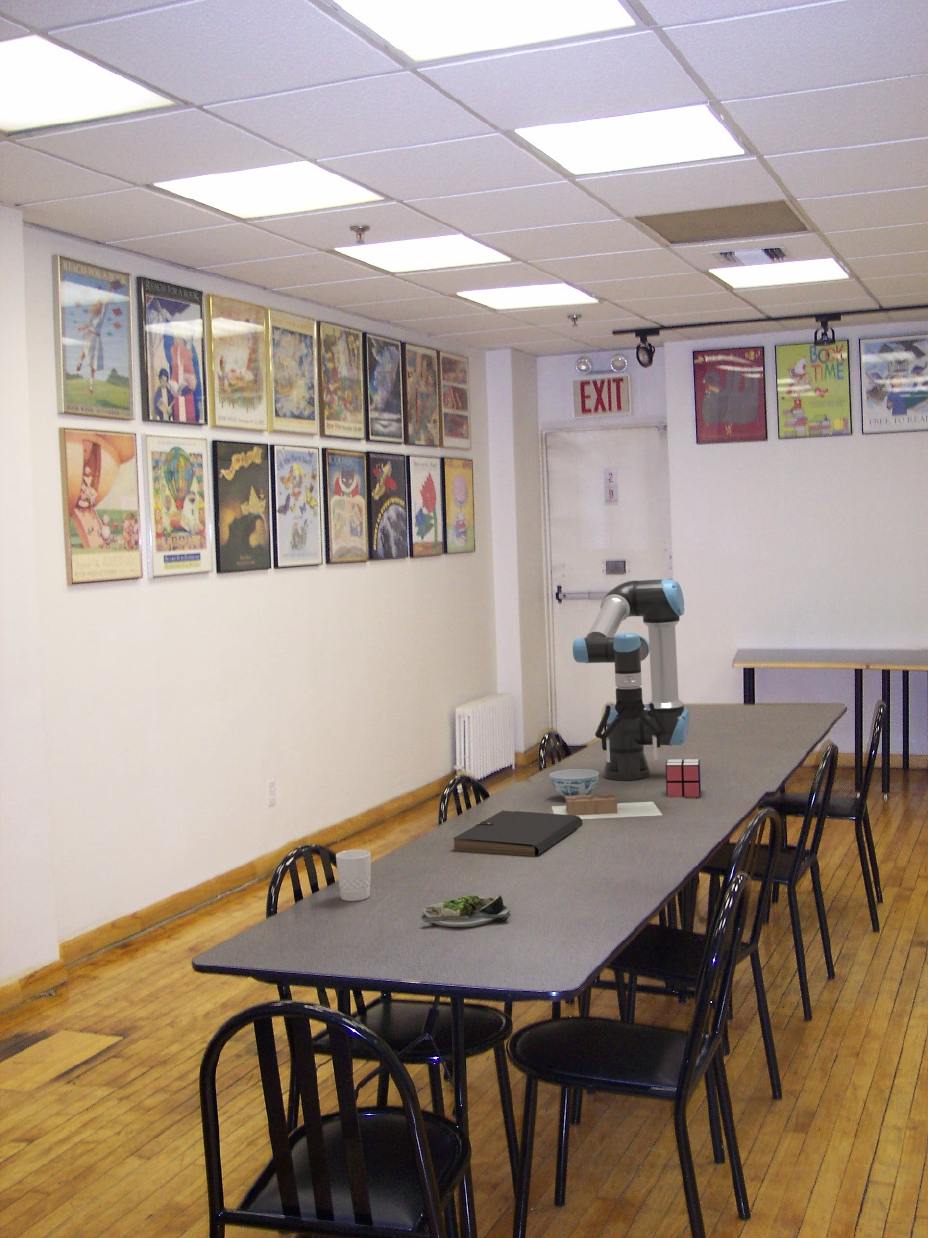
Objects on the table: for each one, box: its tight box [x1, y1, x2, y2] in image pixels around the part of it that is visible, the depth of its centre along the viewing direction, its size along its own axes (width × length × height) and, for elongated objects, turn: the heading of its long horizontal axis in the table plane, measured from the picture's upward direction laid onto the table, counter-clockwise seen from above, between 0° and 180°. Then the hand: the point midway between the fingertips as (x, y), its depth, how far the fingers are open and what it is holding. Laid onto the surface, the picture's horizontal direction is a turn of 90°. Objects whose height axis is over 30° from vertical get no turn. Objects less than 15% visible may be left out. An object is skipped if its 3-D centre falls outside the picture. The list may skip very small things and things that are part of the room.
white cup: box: [335, 849, 372, 902], centre depth 280 cm, size 8×8×10 cm
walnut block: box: [565, 793, 618, 815], centre depth 354 cm, size 8×4×14 cm
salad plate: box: [422, 894, 511, 928], centre depth 261 cm, size 19×18×5 cm
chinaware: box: [549, 768, 600, 800], centre depth 374 cm, size 15×15×8 cm
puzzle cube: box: [665, 758, 702, 798], centre depth 373 cm, size 10×10×10 cm
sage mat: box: [551, 801, 663, 820], centre depth 354 cm, size 18×30×1 cm, turn 90°
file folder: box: [452, 810, 584, 857], centre depth 328 cm, size 33×4×24 cm
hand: (631, 760), depth 353 cm, fingers open, 13 cm apart
